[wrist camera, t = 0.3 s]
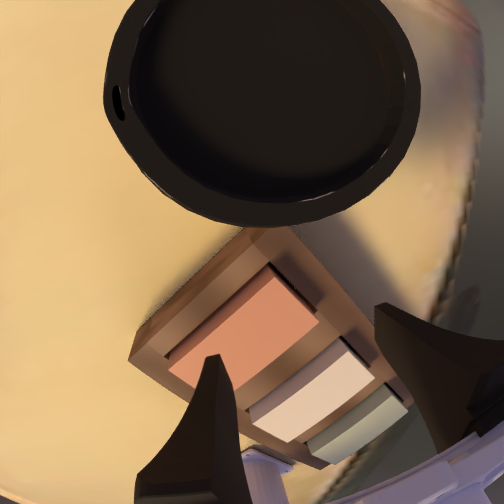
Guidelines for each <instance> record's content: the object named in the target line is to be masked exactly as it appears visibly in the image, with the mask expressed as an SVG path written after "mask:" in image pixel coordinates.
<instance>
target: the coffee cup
mask: <svg viewBox="0 0 504 504" xmlns="http://www.w3.org/2000/svg"><path fill="white" fill-rule="evenodd" d="M420 100H421V84H420V78H419V72H418V67H417V62H416V59H415V56H414V54H413V51H412V48H411V46H410V43H409V41H408V38H407V37H406V35H405V33H404V32H403V30H402V28H401V27H400V25H399V23H398V22H397V20H396V19H395V17H394V16H393V15H392V13H391V12H390V11H389V10H388V9H387V8H386V7H385V5H384V4H383V3H382V2H381V1H380V0H135V1H134V2H133V4H132V5H131V6H130V8H129V9H128V10H127V11H126V13H125V15H124V17H123V19H122V21H121V23H120V25H119V27H118V29H117V31H116V33H115V36H114V39H113V42H112V46H111V49H110V52H109V56H108V62H107V67H106V73H105V81H104V92H103V104H104V110H105V113H106V116H107V118H108V121H109V122H110V124H111V126H112V128H113V130H114V132H115V134H116V135H117V137H118V139H119V141H120V142H121V144H122V145H123V147H124V148H125V150H126V151H127V153H128V154H129V155H130V157H131V158H132V159H133V161H134V162H135V163H136V164H137V166H138V167H139V169H140V170H141V172H142V173H143V174H144V175H145V176H146V177H147V178H148V179H149V180H150V181H151V182H152V183H153V184H154V185H155V186H156V187H157V188H158V189H159V190H160V191H161V192H162V193H163V194H164V195H166V196H167V197H169V198H170V199H172V200H173V201H175V202H176V203H178V204H179V205H180V206H182V207H183V208H185V209H186V210H188V211H191V212H193V213H196V214H198V215H201V216H203V217H206V218H208V219H210V220H213V221H216V222H220V223H225V224H230V225H235V226H240V227H249V228H277V227H283V226H290V225H296V224H302V223H306V222H311V221H317V220H320V219H323V218H325V217H328V216H330V215H333V214H336V213H338V212H341V211H343V210H346V209H347V208H349V207H351V206H352V205H354V204H356V203H357V202H359V201H360V200H362V199H364V198H365V197H367V196H369V195H370V194H371V193H372V192H373V191H374V190H376V189H377V188H378V187H379V186H380V185H381V184H382V183H383V182H384V181H385V180H387V179H388V178H389V177H390V175H391V174H392V173H393V171H394V170H395V169H396V167H397V166H398V165H399V163H400V162H401V161H402V159H403V158H404V156H405V154H406V152H407V150H408V148H409V146H410V143H411V141H412V139H413V137H414V135H415V131H416V127H417V122H418V118H419V113H420Z"/></svg>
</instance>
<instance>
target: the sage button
mask: <svg viewBox="0 0 504 504" xmlns="http://www.w3.org/2000/svg"><path fill="white" fill-rule="evenodd" d="M407 412H408V410H407V409H406V408H405V406H404V405H403V404H402V402H401V401H400V400H399V398H398V397H397V396H396V394H395V393H394V392H393V391H392V389H391V388H390V387H389V386H388V385H387V384H386V383H385V382H384V383H383V384H382V385H381V386H380V387H378V388H377V389H376V390H375V391H374V392H372V393H371V394H370V395H369V396H367V397H366V398H365V399H364V400H363V401H361V402H360V403H359V404H357V405H356V406H355V407H354V408H352V409H351V410H350V411H348V412H347V413H346V414H344V415H343V416H342V417H340V418H339V419H338V420H336V421H335V422H333V423H332V424H331V425H329V426H328V427H326V428H325V429H324V430H322V431H321V432H319V433H318V434H316V435H315V436H313V437H312V438H310V439H309V440H307V441H306V442H307V445H308V447H309V450H310V452H311V454H312V455H314V456H316V457H318V458H320V459H322V460H325V461H327V462H329V463H332V464H334V465H336V464H337V463H339V462H341V461H342V460H344V459H345V458H347V457H348V456H350V455H351V454H353V453H354V452H356V451H357V450H359V449H360V448H361V447H363V446H364V445H366V444H367V443H369V442H370V441H371V440H373V439H374V438H375V437H377V436H378V435H379V434H381V433H382V432H383V431H385V430H386V429H387V428H389V427H390V426H391V425H392V424H394V423H395V422H396V421H397V420H399V419H400V418H401V417H402V416H403V415H405V414H406V413H407Z"/></svg>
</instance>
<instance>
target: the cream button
mask: <svg viewBox="0 0 504 504" xmlns="http://www.w3.org/2000/svg"><path fill="white" fill-rule="evenodd" d="M373 379H375V377H374V376H373V375H372V373H371V372H370V370H369V369H368V368H367V366H366V365H365V364H364V362H363V361H362V360H361V358H360V357H359V356H358V354H357V353H356V352H355V350H354V349H353V348H352V347H351V346H350V345H349V344H348V343H347V342H346V341H345V340H344V339H343V338H342V337H341V336H339V337H338V338H337V339H336V340H334V341H333V342H332V343H331V344H330V345H329V346H327V347H326V348H325V349H324V350H323V351H321V352H320V353H319V354H318V355H317V356H315V357H314V358H313V359H312V360H311V361H309V362H308V363H307V364H306V365H304V366H303V367H302V368H301V369H299V370H298V371H297V372H296V373H294V374H293V375H292V376H291V377H289V378H288V379H287V380H285V381H284V382H283V383H281V384H280V385H279V386H278V387H276V388H275V389H274V390H272V391H271V392H269V393H268V394H267V395H265V396H264V397H263V398H261V399H260V400H259V401H257V402H256V403H254V404H253V405H252V406H250V407H249V411H250V416H251V421H252V424H253V425H255V426H257V427H259V428H261V429H262V430H264V431H266V432H268V433H270V434H272V435H273V436H275V437H277V438H279V439H281V440H283V441H285V442H287V443H288V442H289V441H291V440H293V439H294V438H296V437H297V436H299V435H300V434H302V433H303V432H305V431H306V430H308V429H309V428H311V427H312V426H313V425H315V424H316V423H318V422H319V421H321V420H322V419H323V418H325V417H326V416H328V415H329V414H330V413H332V412H333V411H334V410H336V409H337V408H338V407H340V406H341V405H342V404H344V403H345V402H346V401H347V400H349V399H350V398H351V397H353V396H354V395H355V394H356V393H358V392H359V391H360V390H361V389H363V388H364V387H365V386H366V385H367V384H369V383H370V382H371V381H372V380H373Z"/></svg>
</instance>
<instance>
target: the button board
mask: <svg viewBox="0 0 504 504" xmlns="http://www.w3.org/2000/svg"><path fill="white" fill-rule="evenodd" d="M269 261H270V262H271V263H272V264H273V265H274V266H275V267H276V268H277V269H278V270H279V271H280V272H281V273H282V274H283V275H284V276H285V277H286V278H287V279H288V280H289V281H290V282H291V283H292V284H293V285H294V287H295V288H296V289H297V292H298V293H299V294H300V295H301V296H302V297H303V299H304V300H305V302H306V303H307V305H308V306H309V308H310V309H311V310H312V312H313V313H314V315H315V316H316V318H317V319H318V321H319V323H318V324H317V325H315V326H314V327H313V328H312V329H311V330H310V331H309V332H307V333H306V334H305V335H304V336H303V337H302V338H300V339H299V340H298V341H297V342H296V343H294V344H293V345H292V346H291V347H290V348H288V349H287V350H286V351H285V352H283V353H282V354H281V355H280V356H279V357H277V358H276V359H275V360H274V361H272V362H271V363H270V364H269V365H267V366H266V367H265V368H264V369H262V370H261V371H260V372H258V373H257V374H256V375H255V376H253V377H252V378H251V379H249V380H248V381H247V382H245V383H244V384H243V385H241V386H240V387H239V388H238V389H236V390H235V391H234V394H235V400H236V406H237V418H238V431H239V433H241V434H243V435H245V436H247V437H249V438H251V439H253V440H255V441H257V442H259V443H261V444H263V445H265V446H267V447H269V448H271V449H273V450H275V451H277V452H279V453H282V454H284V455H286V456H288V457H290V458H293V459H295V460H297V461H299V462H302V463H304V464H307V465H309V466H311V467H314V468H316V469H319V470H321V469H323V468H325V467H326V466H328V465H330V464H331V463H329V462H327V461H325V460H322V459H320V458H318V457H316V456H314V455H312V454H311V452H310V450H309V447H308V445H307V442H306V441H307V440H309V439H310V438H312V437H313V436H315V435H316V434H318V433H319V432H321V431H322V430H324V429H325V428H326V427H328V426H329V425H331V424H332V423H333V422H335V421H336V420H338V419H339V418H340V417H342V416H343V415H344V414H346V413H347V412H348V411H350V410H351V409H352V408H354V407H355V406H356V405H357V404H359V403H360V402H361V401H363V400H364V399H365V398H366V397H367V396H369V395H370V394H371V393H372V392H374V391H375V390H376V389H377V388H378V387H380V386H381V385H382V384H383V383H384V382H385V383H386V384H387V385H388V386H389V387H390V388H391V389H392V391H393V392H394V393H395V394H396V396H397V397H398V398H399V400H400V401H401V402H402V404H403V405H404V406H405V408H408V407H409V406H410V405H411V404H412V403H413V402H414V399H413V397H412V396H411V394H410V392H409V391H408V389H407V388H406V386H405V385H404V384H403V382H402V381H401V379H400V378H399V377H398V375H397V374H396V373H395V371H394V370H393V369H392V367H391V366H390V364H389V363H388V362H387V360H386V359H385V358H384V356H383V354H382V353H381V351H380V349H379V347H378V345H377V343H376V341H375V340H374V326H373V325H372V324H371V322H370V321H369V320H368V319H367V317H366V316H365V315H364V314H363V313H362V311H361V310H360V309H359V308H358V307H357V305H356V304H355V303H354V302H353V301H352V299H351V298H350V297H349V296H348V295H347V293H346V292H345V291H344V290H343V289H342V287H341V286H340V285H339V284H338V283H337V282H336V280H335V279H334V278H333V277H332V276H331V275H330V273H329V272H328V271H327V270H326V269H325V268H324V266H323V265H322V264H321V263H320V262H319V261H318V259H317V258H316V257H315V256H314V255H313V254H312V253H311V251H310V250H309V249H308V248H307V247H306V246H305V245H304V243H303V242H302V241H301V240H300V239H299V238H298V237H297V236H296V234H295V233H294V232H293V231H292V230H291V229H290V228H289V227H288V226H283V227H277V228H249V227H245V228H244V229H243V230H242V231H241V232H240V233H239V234H238V235H236V236H235V237H234V238H233V239H232V240H231V241H230V242H229V243H228V244H227V245H226V246H225V247H224V248H223V249H222V250H221V251H220V252H218V253H217V254H216V255H215V256H214V257H213V258H212V259H211V260H210V261H209V262H208V263H207V264H206V265H205V266H204V267H203V268H202V269H201V270H200V271H198V272H197V273H196V274H195V275H194V276H193V277H192V278H191V279H190V280H189V281H188V282H187V283H186V284H185V285H184V286H183V287H182V288H181V289H180V290H179V291H178V292H177V293H176V294H175V295H174V296H173V297H171V298H170V299H169V300H168V301H167V302H166V303H165V304H164V305H163V306H162V307H161V308H160V309H159V310H158V311H157V312H156V313H155V314H154V315H153V316H152V317H151V318H150V319H149V320H148V321H147V322H146V323H145V324H144V325H143V326H142V327H141V328H140V329H139V330H138V331H137V332H136V335H135V339H134V342H133V345H132V348H131V352H130V355H129V358H128V361H129V362H130V363H131V364H133V365H134V366H135V367H137V368H138V369H139V370H141V371H142V372H143V373H145V374H146V375H148V376H149V377H150V378H152V379H153V380H155V381H156V382H158V383H159V384H161V385H162V386H163V387H165V388H166V389H168V390H169V391H171V392H172V393H174V394H175V395H177V396H179V397H180V398H182V399H183V400H185V401H186V402H188V403H190V401H191V398H192V396H193V394H194V391H195V388H193V387H192V386H190V385H189V384H187V383H186V382H184V381H183V380H181V379H180V378H179V377H177V376H176V375H174V374H173V373H172V372H170V371H169V370H168V366H169V357H170V350H171V349H172V348H174V347H175V346H176V345H177V344H178V343H179V342H180V341H181V340H183V339H184V338H185V337H186V336H187V335H188V334H189V333H190V332H192V331H193V330H194V329H195V328H196V327H197V326H198V325H199V324H201V323H202V322H203V321H204V320H205V319H206V318H207V317H208V316H209V315H211V314H212V313H213V312H214V311H215V310H216V309H217V308H218V307H219V306H221V305H222V304H223V303H224V302H225V301H226V300H227V299H228V298H229V297H231V296H232V295H233V294H234V293H235V292H236V291H237V290H238V289H239V288H241V287H242V286H243V285H244V284H245V283H246V282H247V281H248V280H249V279H250V278H252V277H253V276H254V275H255V274H256V273H257V272H258V271H259V270H260V269H261V268H262V267H264V266H265V265H266V264H267V263H268V262H269ZM340 335H342V336H343V337H344V338H345V339H346V340H347V341H348V342H349V345H350V346H351V347H352V348H353V349H354V350H355V352H356V353H357V354H358V356H359V357H360V358H361V360H362V361H363V362H364V364H365V365H366V366H367V368H368V369H369V370H370V372H371V373H372V375H373V376H374V377H375V379H373V380H372V381H371V382H370V383H369V384H367V385H366V386H365V387H364V388H363V389H361V390H360V391H359V392H358V393H356V394H355V395H354V396H353V397H351V398H350V399H349V400H347V401H346V402H345V403H344V404H342V405H341V406H340V407H338V408H337V409H336V410H334V411H333V412H332V413H330V414H329V415H328V416H326V417H325V418H323V419H322V420H321V421H319V422H318V423H316V424H315V425H313V426H312V427H311V428H309V429H308V430H306V431H305V432H303V433H302V434H300V435H299V436H297V437H296V438H294V439H293V440H291V441H289V442H288V443H287V442H285V441H283V440H281V439H279V438H277V437H275V436H273V435H272V434H270V433H268V432H266V431H264V430H262V429H261V428H259V427H257V426H255V425H253V424H252V421H251V416H250V411H249V407H250V406H252V405H253V404H254V403H256V402H257V401H259V400H260V399H261V398H263V397H264V396H265V395H267V394H268V393H269V392H271V391H272V390H274V389H275V388H276V387H278V386H279V385H280V384H281V383H283V382H284V381H285V380H287V379H288V378H289V377H291V376H292V375H293V374H294V373H296V372H297V371H298V370H299V369H301V368H302V367H303V366H304V365H306V364H307V363H308V362H309V361H311V360H312V359H313V358H314V357H315V356H317V355H318V354H319V353H320V352H321V351H323V350H324V349H325V348H326V347H327V346H329V345H330V344H331V343H332V342H333V341H334V340H336V339H337V338H338V337H339V336H340Z"/></svg>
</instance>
